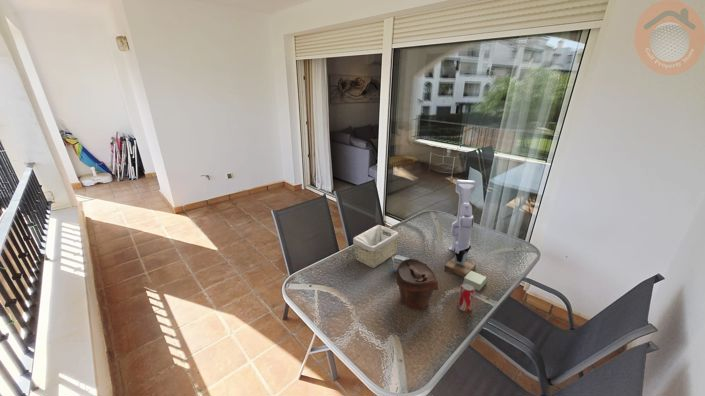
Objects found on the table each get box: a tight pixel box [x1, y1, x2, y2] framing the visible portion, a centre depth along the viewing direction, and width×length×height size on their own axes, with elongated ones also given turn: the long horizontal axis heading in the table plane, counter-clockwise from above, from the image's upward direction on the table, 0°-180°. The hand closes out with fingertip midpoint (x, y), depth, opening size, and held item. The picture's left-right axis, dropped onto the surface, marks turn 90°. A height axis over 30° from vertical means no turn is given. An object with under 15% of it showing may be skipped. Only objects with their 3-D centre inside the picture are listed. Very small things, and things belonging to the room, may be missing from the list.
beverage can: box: [457, 282, 476, 313], centre depth 124 cm, size 6×6×12 cm
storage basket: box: [352, 224, 399, 269], centre depth 165 cm, size 24×16×15 cm
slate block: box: [454, 250, 468, 265], centre depth 152 cm, size 4×4×6 cm
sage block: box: [463, 270, 487, 291], centre depth 142 cm, size 8×8×4 cm
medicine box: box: [392, 254, 411, 273], centre depth 151 cm, size 8×4×9 cm, turn 62°
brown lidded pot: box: [394, 258, 439, 311], centre depth 129 cm, size 18×20×18 cm
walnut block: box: [444, 256, 477, 278], centre depth 154 cm, size 12×12×3 cm
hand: (461, 259), depth 152 cm, fingers closed on slate block, 4 cm apart
